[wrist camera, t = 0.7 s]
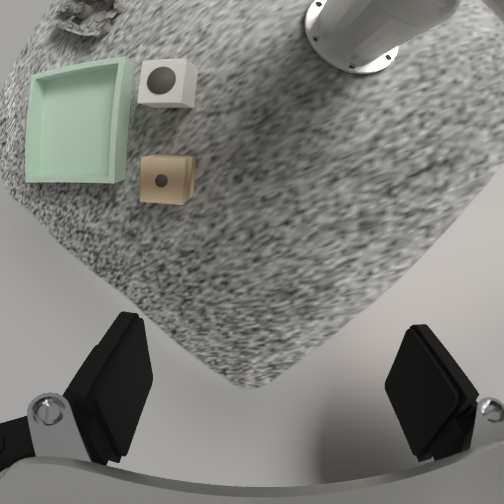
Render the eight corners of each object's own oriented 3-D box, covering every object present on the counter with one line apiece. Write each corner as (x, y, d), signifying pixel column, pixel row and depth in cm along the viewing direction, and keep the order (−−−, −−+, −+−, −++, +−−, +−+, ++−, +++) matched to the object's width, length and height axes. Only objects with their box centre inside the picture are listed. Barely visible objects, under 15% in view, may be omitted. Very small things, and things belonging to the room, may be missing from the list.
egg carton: (133, 2, 26) (122, -9, 23) (103, 45, 29) (89, 37, 25) (85, -10, 24) (73, -19, 21) (59, 29, 27) (44, 23, 23)
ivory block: (159, 71, 31) (142, 60, 25) (197, 70, 31) (186, 58, 25) (155, 107, 32) (136, 102, 27) (193, 108, 32) (181, 102, 27)
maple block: (158, 153, 35) (140, 156, 29) (196, 155, 35) (185, 158, 29) (156, 192, 36) (139, 201, 31) (193, 194, 36) (182, 205, 31)
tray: (45, 77, 29) (32, 75, 26) (136, 62, 30) (125, 56, 27) (39, 178, 35) (25, 182, 32) (125, 179, 36) (114, 183, 32)
